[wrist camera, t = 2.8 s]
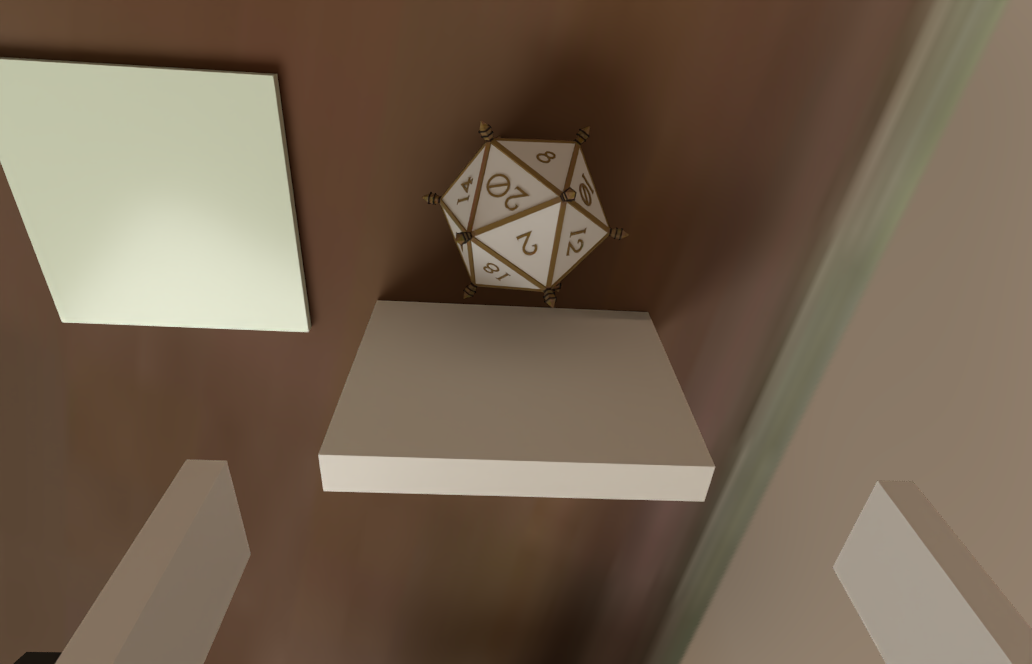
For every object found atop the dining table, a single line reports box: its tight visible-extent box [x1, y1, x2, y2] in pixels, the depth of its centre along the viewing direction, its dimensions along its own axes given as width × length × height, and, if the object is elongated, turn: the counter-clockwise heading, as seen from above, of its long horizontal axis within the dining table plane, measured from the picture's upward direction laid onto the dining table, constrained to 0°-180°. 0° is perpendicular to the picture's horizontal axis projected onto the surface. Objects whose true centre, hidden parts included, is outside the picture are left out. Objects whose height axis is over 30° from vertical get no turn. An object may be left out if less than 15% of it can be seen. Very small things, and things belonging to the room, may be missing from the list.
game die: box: [422, 121, 629, 308], centre depth 28 cm, size 9×8×10 cm
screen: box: [318, 300, 715, 502], centre depth 31 cm, size 6×16×13 cm, turn 86°
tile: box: [0, 57, 311, 332], centre depth 31 cm, size 14×14×1 cm
